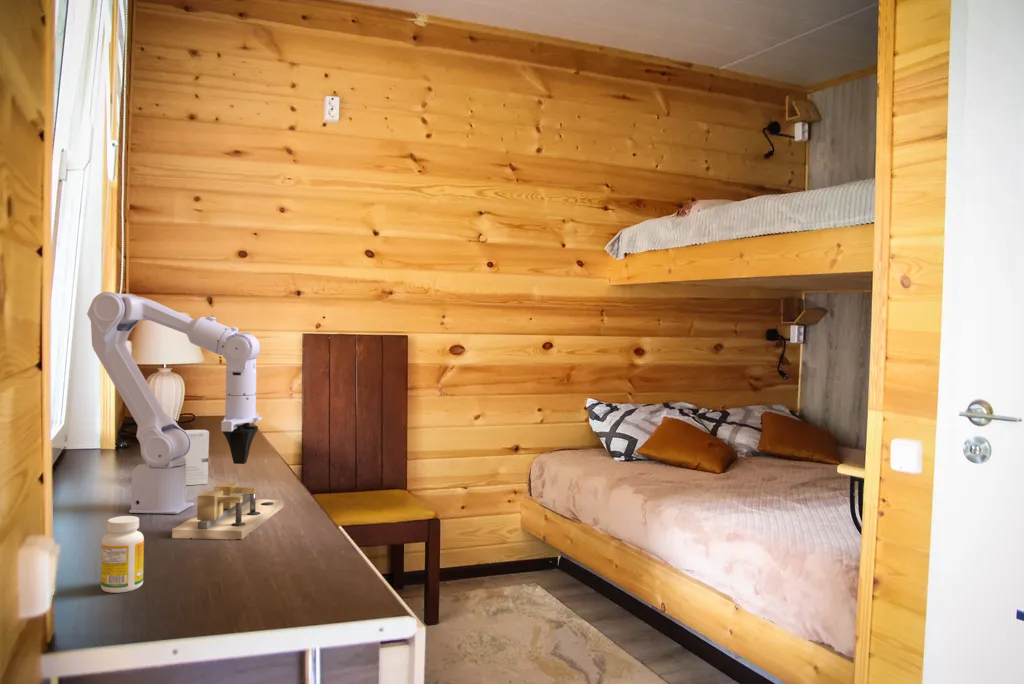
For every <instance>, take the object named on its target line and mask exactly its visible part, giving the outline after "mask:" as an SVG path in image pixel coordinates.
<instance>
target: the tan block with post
mask: <svg viewBox="0 0 1024 684" xmlns="http://www.w3.org/2000/svg"><path fill="white" fill-rule="evenodd" d="M213 491H223V496H239V495H243V494H250V512H251V513H253V512H256V497H257V495H256V494H257V492H258V487H257V486H255V487H254V486H239V482H228V481H226V482H225V481H223V482H219V483H218V484H217V485H214V486H213ZM235 505H236V503H223V509H230V508H232V507H233V506H235Z"/></svg>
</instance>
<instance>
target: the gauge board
mask: <svg viewBox="0 0 1024 684" xmlns="http://www.w3.org/2000/svg"><path fill="white" fill-rule="evenodd" d="M196 503H197V506H196V507H197V509H196V510H197V512H196V513H197V514H196V515H194V516H192V517H190V518H189V519H187V520H186V521H184V522H183V523H181V524H179V525H177V526H176V527H174V528H172V529H171V538H172V539H190V538H192V539H194V540H195V539H198V540H199V539H201V540H203V539H204V540H236V539H241V540H243V539H244V538H246V537H247V536H248V535H250V534H251V533H252V532H254V531H255V530H256V529H257V528H258V527H260V526H261V525H263V524H264V523H265V522H266V521H268V520H269V519H271V517H273V516H274V515H275V514H277V513H278V512H279V511H280V510H282V509H283V508H284V499H265V498H264V499H261V498H260V499H256V512H253V513H251V512H250V494H240V495H238V496H223V491H214V490H205V491H203V492H201V493H200V494H198V495H197V502H196ZM223 503H236V505H235V506H233V507H232V508H230V509H223ZM250 532H251V533H250ZM249 533H250V534H249Z"/></svg>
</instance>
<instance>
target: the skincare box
mask: <svg viewBox="0 0 1024 684" xmlns="http://www.w3.org/2000/svg"><path fill="white" fill-rule="evenodd" d="M184 430H185V429H184ZM185 431H186V432H187V433H188V434H189V436H190V439H191V447H190V450H189V452H188V453H187V454H186V455H185V459H186V486H194V485H195V486H197V485H206V484H207V485H208V483H209V451H210V450H209V446H210V431H209V430H207V429H186V430H185Z"/></svg>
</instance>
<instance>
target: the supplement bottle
mask: <svg viewBox="0 0 1024 684" xmlns="http://www.w3.org/2000/svg"><path fill="white" fill-rule="evenodd" d="M106 522H107V525H106V526H107V528H106V529H107V532H109V533H106V534H105V535H104V536H103V537H102V539H101V553H100V554H101V557H100V560H101V561H100V562H101V563H100V565H101V566H100V567H101V568H100V573H101V574H100V587H101V590H103V591H104V592H106V593H113V594H114V593H115V594H118V593H119V594H121V593H126V592H132V591H134V590H137V589H139V588H140V587H142V586H143V583H144V558H145V557H144V554H145V552H144V551H145V550H144V549H145V537H144V534H143V533H142V532H141V531H140V530H138V529H139V528H140V518H139V516H135V515H134V516H133V515H120V516H115V517H110V518H109V519H107V521H106Z"/></svg>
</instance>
